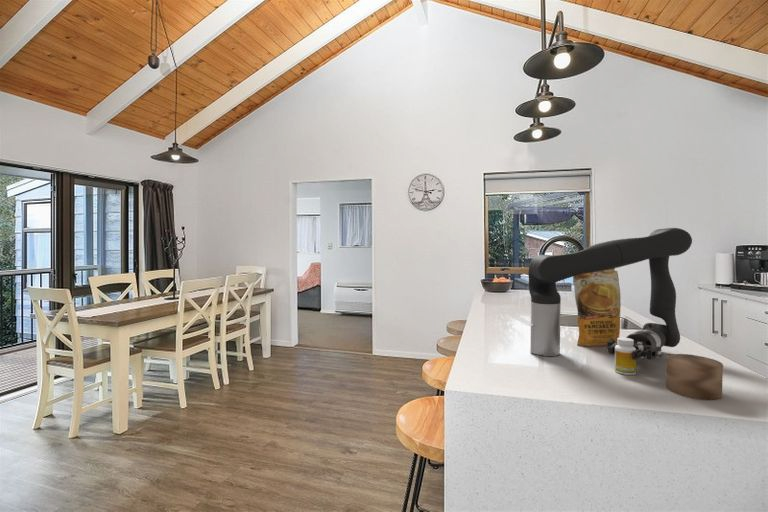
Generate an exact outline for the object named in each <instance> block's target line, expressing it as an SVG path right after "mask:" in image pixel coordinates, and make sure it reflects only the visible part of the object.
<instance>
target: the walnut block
mask: <svg viewBox="0 0 768 512" xmlns="http://www.w3.org/2000/svg"><path fill="white" fill-rule="evenodd" d="M723 373H724V364H723V363H722V362H721V361H719V360H716V359H713V358H710V357H705V356H701V355H695V354H688V353H687V354H686V353H672V354H668V355H667V356H666V376H665V377H666V378H665V379H666V381H665V382H666V383H665V384H666V385H665V387H666V389H667V390H668V391H670V392H672V393H673V394H676V395H679V396H682V397H686V398H690V399H695V400H702V401H719V400H721V399H722V398H723V381H724V380H723V377H724V376H723V375H724V374H723Z"/></svg>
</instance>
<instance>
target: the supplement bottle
mask: <svg viewBox="0 0 768 512" xmlns="http://www.w3.org/2000/svg"><path fill="white" fill-rule="evenodd" d="M617 342H618V345H616V346H615V349H614V354H613V355H614V359H613V360H614V361H613V363H614V364H613V370H614V372H616V373H617V374H621V375H625V376H634V375H636V373H637V359H636V360H634V359H632V352H633V351H635V350H636V348H635V347H633V345H634V340H633V339H630V338H626V337H619V338H618V339H617Z"/></svg>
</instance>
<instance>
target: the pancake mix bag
mask: <svg viewBox="0 0 768 512" xmlns="http://www.w3.org/2000/svg"><path fill="white" fill-rule="evenodd" d="M615 269H616V268H614V269H609V270H604V271H598V272H592V273H584V274H580V275H576V276H573V277H572V282H573V287H574V288H573V289H574V300H575V305H576V309H577V310H576V311H577V326H578V339H577V343H576V345H577V346H583V347H584V346H585V347H607V342H608V340H609V339H614V340H615V342H617V339H618V338H620V335H621V334H620V333H621V329H620V328H621V306H622V305H621V297H622V296H621V289H620V282H619V280H620V279H619V274H618V270H615Z"/></svg>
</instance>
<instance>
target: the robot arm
mask: <svg viewBox="0 0 768 512" xmlns="http://www.w3.org/2000/svg"><path fill="white" fill-rule="evenodd" d="M692 244H693V237H692V235H691V234H690V233H689V232H688V231H687V230H684V229H682V228H678V227H667V228H658V229H655V230H653V231H651V232H650V233H649V235H648V236H643V237H632V238H631V237H629V238H622V239H621V238H620V239H614V240H609V241H604V242H599V243H595V244H593V245H590V246H587V247H586V248H584V249H582V250H580V251H577V252H573V253H567V254H557V255H556V254H554V255H551V254H538V255H535V256H534V257H533V258H531V260H530V262H529V266H528V290H529V291H528V292H529V295H530V354H535V355H538V356H542V355H543V356H545V357H556V356H559V355H560V354H561V307H562V306H561V304H562V303H561V294H560V293H559V291H558V289H557V286H556V283H558V282H560V281H564V280H567V279H569V278H573V276H576V275H580V274H584V273H592V272H598V271H604V270H609V269H614V268H615V269H618V268H622V267H625V266H628V265H629V266H630V265H633V264H637V263H641V262H643V261H647V260H648V265H649V271H650V272H649V273H650V300H649V301H650V302H649V314H650V315H651V316H653V317H656V318H659V319H661V320H663V322H664V324H661V323H655V322H647V323H645V324H644V325H643V327H642V329H640V330H637V331H635V332H631V333H630V334H628V335H627V336H626V337H625V338H630V339H633V340H634V345H633V347H635V348H636V350H635V351H633V352H632V359H634V360H636V361H637V359H644V358H646V359H647V360H652V359H653V360H654V359H656V358H657V359H658V358H661V357H662V347H668V348H675V347H677V346H678V344H679V343H680V341H681V334H680V330H679V327H678V323H677V318H676V303H677V292H676V288H675V284H674V281H673V279H672V276H671V273H670V270H669V269H670V267H669V260H670V257H673V256H674V257H675V256H680V255H682V254H684V253H686V252H687V251H688V250H689V249H690V248H691V246H692ZM616 345H618V342H615V340H614V339H609V340H608V342H607V346H606V351H607V353H608V355H610V356H612V355H614V349H615V346H616Z"/></svg>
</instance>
